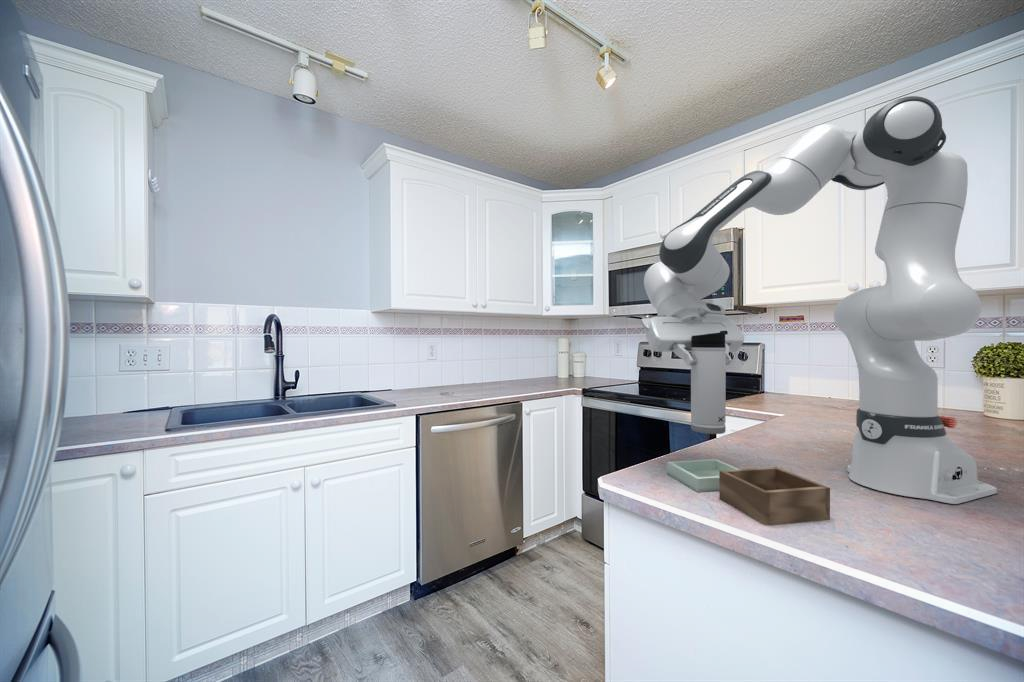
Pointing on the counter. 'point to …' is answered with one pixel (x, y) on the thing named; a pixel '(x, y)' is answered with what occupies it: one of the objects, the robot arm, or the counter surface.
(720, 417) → the travel mug
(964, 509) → the counter surface
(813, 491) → the square wooden frame
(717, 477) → the dock
